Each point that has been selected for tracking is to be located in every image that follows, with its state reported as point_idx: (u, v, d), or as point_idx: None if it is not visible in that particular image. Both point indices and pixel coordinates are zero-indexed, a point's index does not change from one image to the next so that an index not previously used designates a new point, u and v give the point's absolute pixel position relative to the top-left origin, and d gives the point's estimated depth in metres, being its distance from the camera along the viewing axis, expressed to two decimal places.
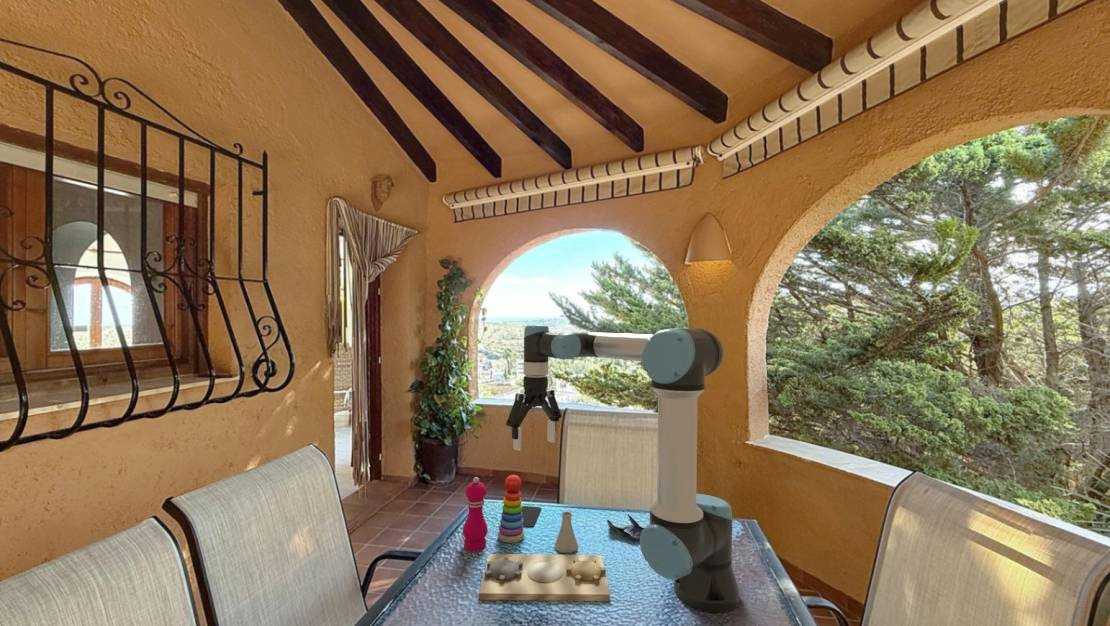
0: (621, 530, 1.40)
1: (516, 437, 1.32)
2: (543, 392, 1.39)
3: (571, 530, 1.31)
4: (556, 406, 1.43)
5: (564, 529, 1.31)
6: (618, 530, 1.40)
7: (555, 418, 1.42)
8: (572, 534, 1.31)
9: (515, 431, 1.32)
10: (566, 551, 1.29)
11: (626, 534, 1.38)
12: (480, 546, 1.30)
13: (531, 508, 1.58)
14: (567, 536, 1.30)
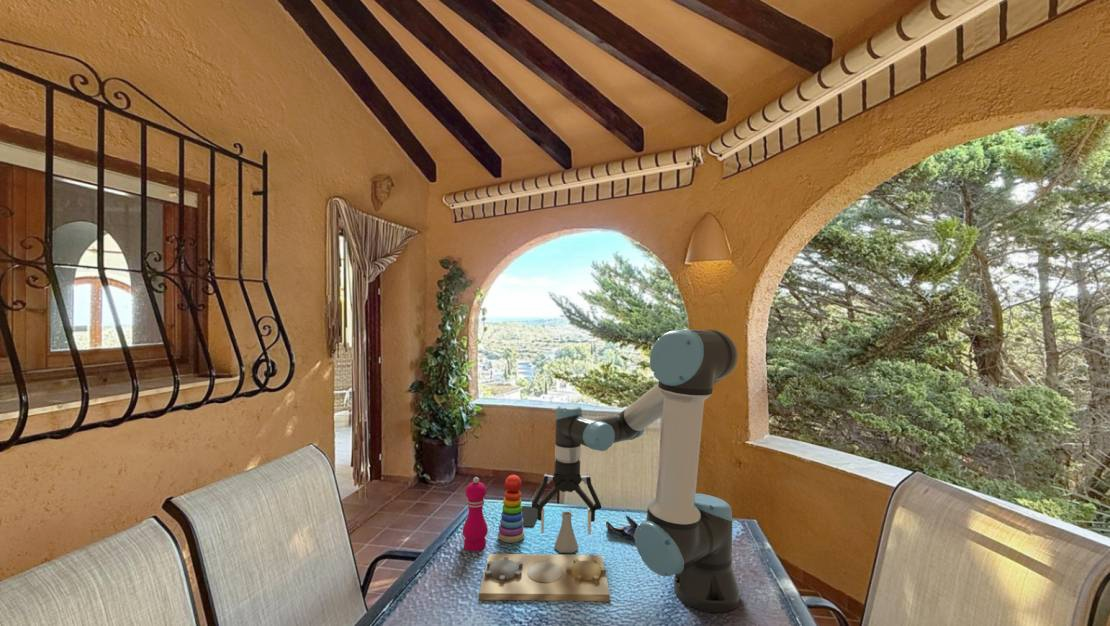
0: (621, 531, 1.39)
1: (539, 518, 1.32)
2: (575, 478, 1.32)
3: (571, 530, 1.31)
4: (593, 495, 1.32)
5: (564, 529, 1.31)
6: (618, 531, 1.39)
7: (592, 508, 1.32)
8: (572, 534, 1.31)
9: (538, 512, 1.32)
10: (566, 551, 1.29)
11: (627, 535, 1.37)
12: (480, 546, 1.30)
13: (531, 508, 1.58)
14: (566, 536, 1.30)
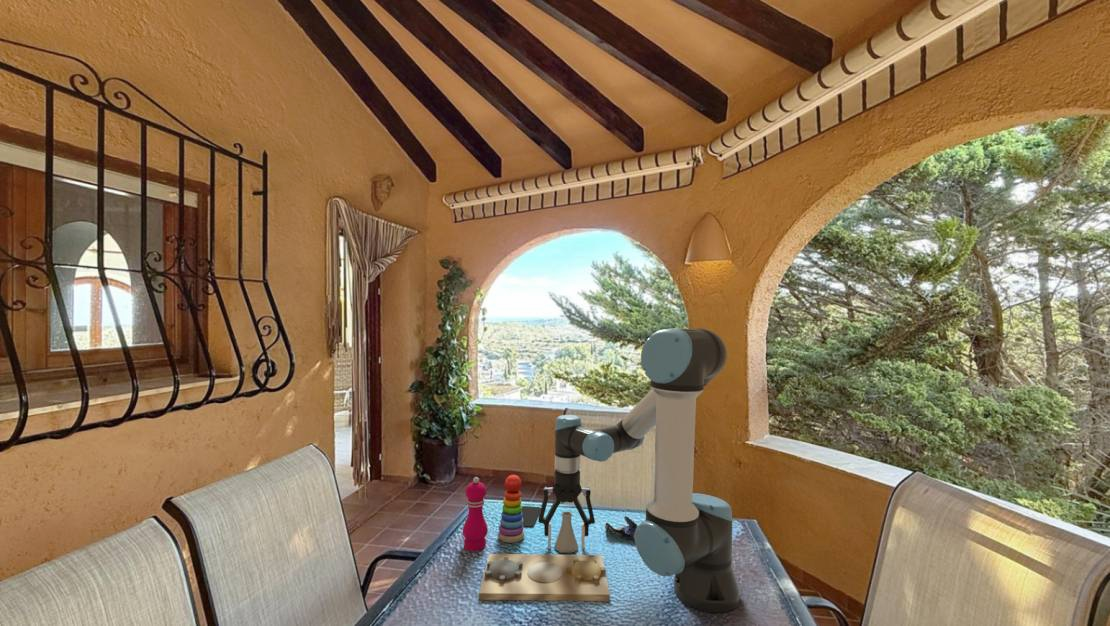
0: (621, 532, 1.38)
1: (546, 534, 1.32)
2: (575, 489, 1.32)
3: (571, 530, 1.31)
4: (589, 509, 1.31)
5: (564, 529, 1.31)
6: (618, 532, 1.39)
7: (585, 523, 1.31)
8: (572, 534, 1.31)
9: (545, 527, 1.32)
10: (566, 551, 1.29)
11: (627, 536, 1.37)
12: (480, 546, 1.30)
13: (531, 508, 1.58)
14: (567, 536, 1.30)
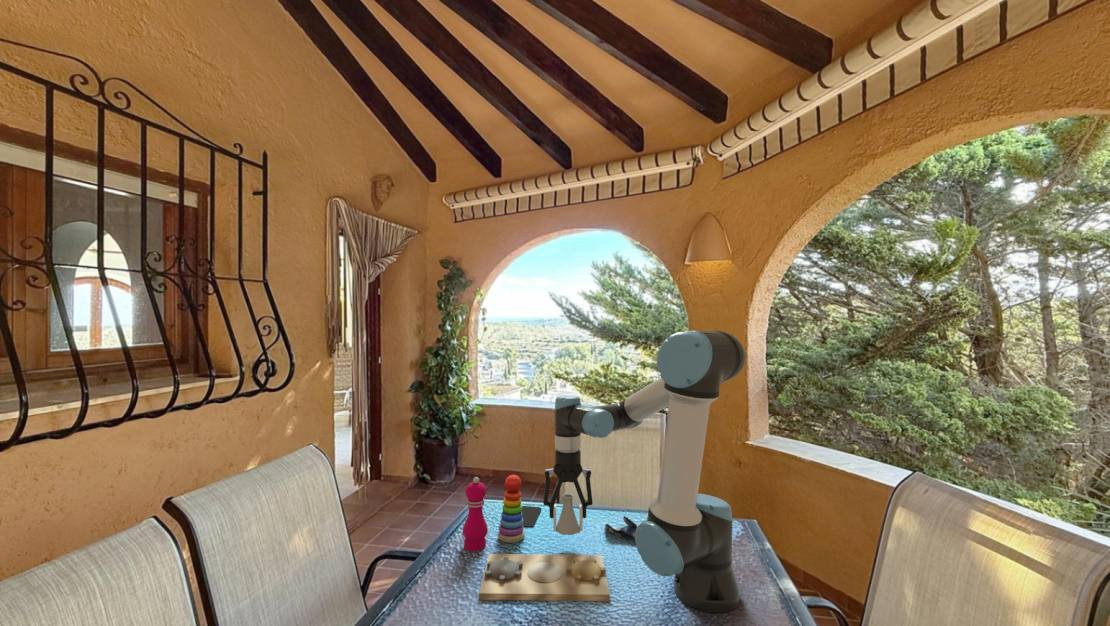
0: (621, 533, 1.38)
1: (551, 516, 1.31)
2: (575, 468, 1.31)
3: (572, 512, 1.31)
4: (588, 490, 1.31)
5: (565, 511, 1.30)
6: (618, 533, 1.38)
7: (583, 504, 1.31)
8: (573, 516, 1.31)
9: (550, 510, 1.31)
10: (568, 533, 1.28)
11: (627, 536, 1.37)
12: (480, 546, 1.30)
13: (531, 508, 1.58)
14: (568, 518, 1.30)
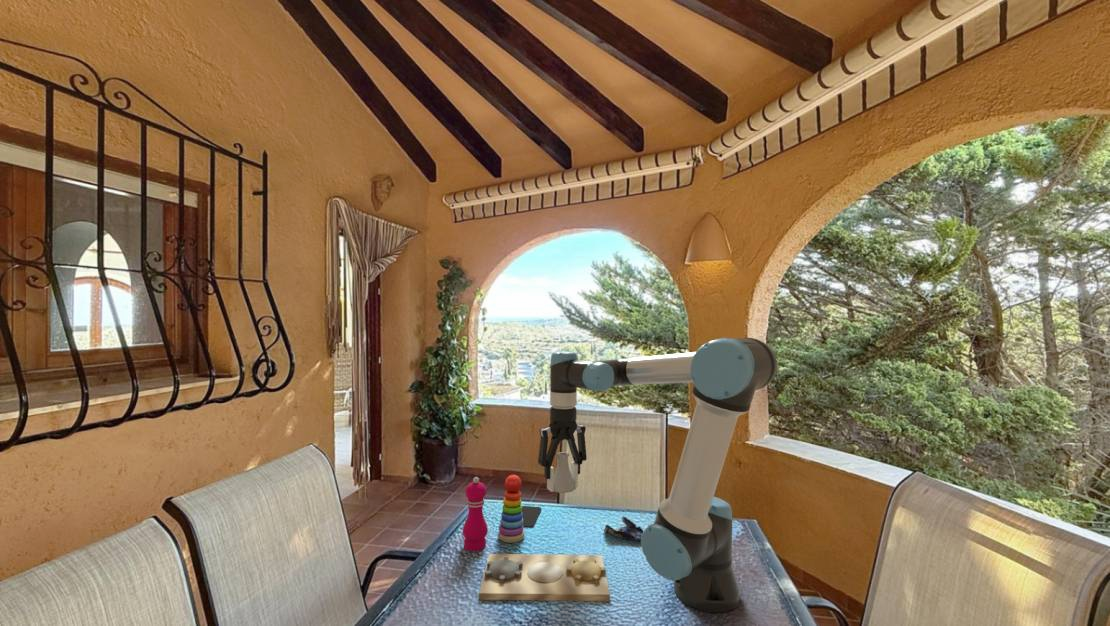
0: (622, 533, 1.37)
1: (548, 477, 1.26)
2: (572, 425, 1.29)
3: (568, 469, 1.28)
4: (583, 445, 1.30)
5: (562, 470, 1.27)
6: (618, 534, 1.38)
7: (578, 460, 1.29)
8: (570, 473, 1.28)
9: (547, 470, 1.26)
10: (567, 491, 1.25)
11: (628, 536, 1.36)
12: (480, 546, 1.30)
13: (531, 508, 1.58)
14: (566, 476, 1.26)
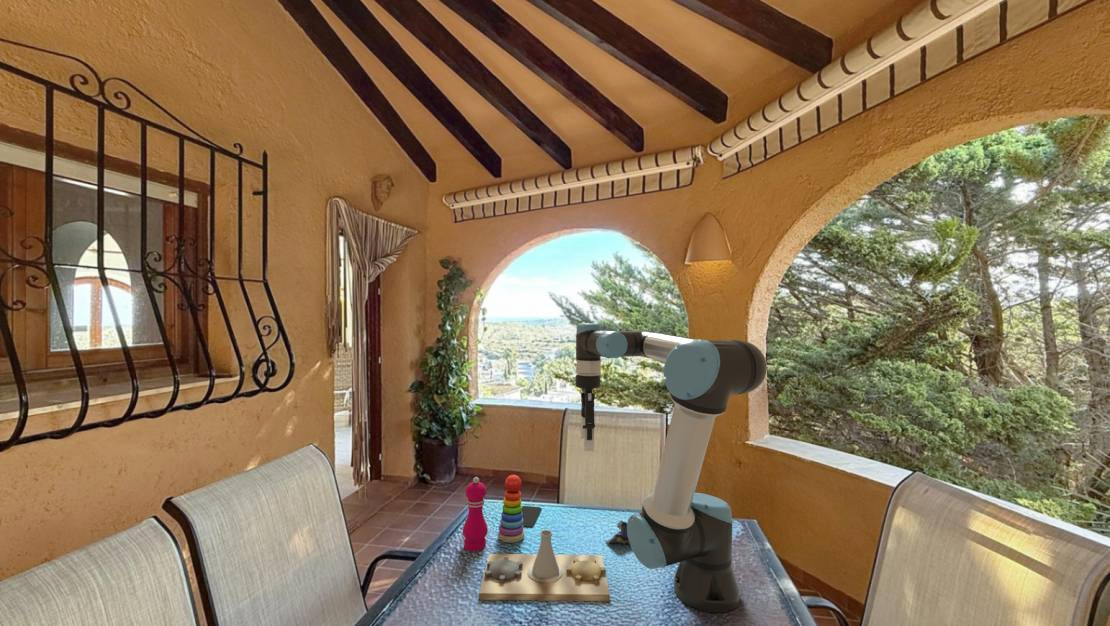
0: None
1: (591, 438, 1.30)
2: None
3: None
4: None
5: (552, 549, 1.16)
6: (626, 540, 1.34)
7: None
8: None
9: (591, 432, 1.30)
10: (558, 569, 1.16)
11: None
12: (480, 546, 1.30)
13: (531, 508, 1.58)
14: None
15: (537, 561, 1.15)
